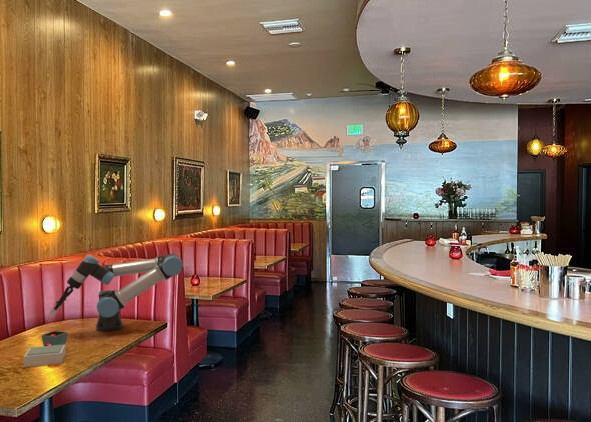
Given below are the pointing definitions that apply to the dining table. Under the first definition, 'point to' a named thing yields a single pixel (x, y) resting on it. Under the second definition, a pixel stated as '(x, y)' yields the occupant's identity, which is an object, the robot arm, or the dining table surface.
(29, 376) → the dining table surface
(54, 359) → the grey box
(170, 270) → the robot arm
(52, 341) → the flower pot
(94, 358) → the dining table surface
